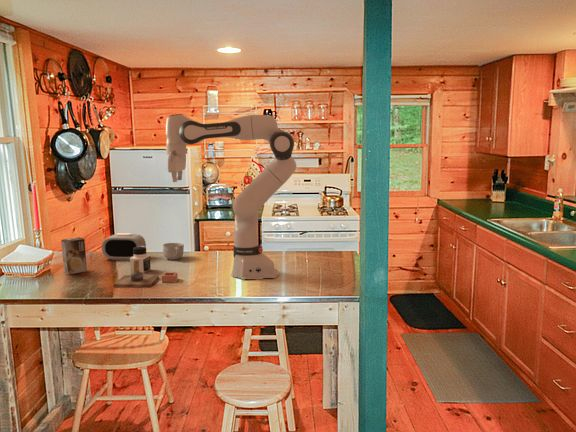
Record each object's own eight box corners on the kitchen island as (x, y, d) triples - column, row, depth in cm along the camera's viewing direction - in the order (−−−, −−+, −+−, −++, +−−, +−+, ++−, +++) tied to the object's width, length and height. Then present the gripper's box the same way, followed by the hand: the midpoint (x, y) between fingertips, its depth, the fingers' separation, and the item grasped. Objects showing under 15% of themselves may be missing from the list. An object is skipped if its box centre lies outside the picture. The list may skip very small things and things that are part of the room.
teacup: (162, 257, 272) (162, 242, 270) (183, 255, 275) (182, 241, 274) (164, 263, 259) (164, 248, 257) (186, 261, 262) (185, 246, 261)
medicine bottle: (144, 273, 240) (142, 248, 238) (130, 272, 241) (129, 248, 240) (150, 269, 247) (149, 245, 245) (137, 268, 248) (136, 244, 246)
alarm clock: (101, 260, 264) (100, 235, 262) (108, 256, 273) (107, 232, 271) (140, 261, 263) (139, 235, 261) (146, 256, 273) (145, 232, 271)
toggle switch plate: (158, 277, 232) (158, 256, 231) (150, 287, 218) (149, 264, 217) (124, 277, 232) (123, 256, 231) (113, 286, 219) (112, 264, 217)
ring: (177, 278, 231) (177, 272, 231) (174, 282, 225) (174, 275, 225) (165, 278, 231) (164, 272, 231) (161, 282, 225) (161, 275, 225)
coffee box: (83, 268, 248) (80, 236, 245) (87, 271, 243) (85, 239, 240) (63, 272, 242) (61, 239, 239) (67, 274, 237) (65, 241, 235)
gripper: (178, 151, 218) (179, 183, 220) (187, 149, 238) (188, 179, 240) (163, 151, 218) (164, 183, 220) (174, 149, 238) (175, 179, 240)
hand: (177, 181), depth 230 cm, fingers open, 8 cm apart
